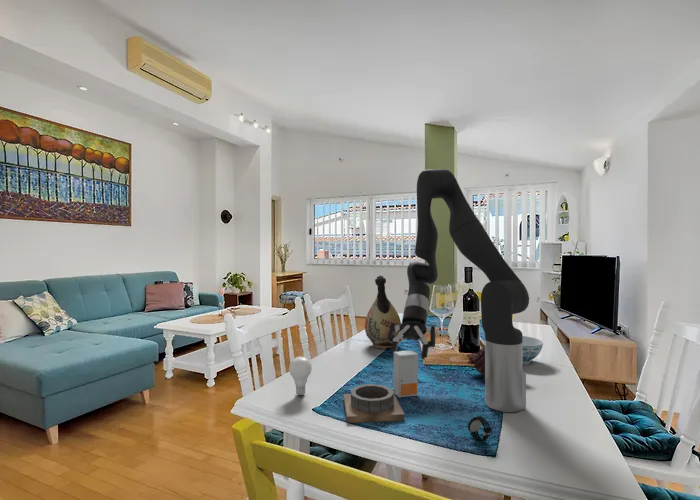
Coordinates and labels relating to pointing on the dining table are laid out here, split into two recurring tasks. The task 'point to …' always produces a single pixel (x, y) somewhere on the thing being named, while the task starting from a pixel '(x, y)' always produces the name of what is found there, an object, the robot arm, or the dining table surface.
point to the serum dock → (372, 404)
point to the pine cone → (478, 361)
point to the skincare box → (406, 373)
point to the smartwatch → (476, 425)
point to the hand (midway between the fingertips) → (408, 356)
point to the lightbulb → (300, 373)
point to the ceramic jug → (381, 318)
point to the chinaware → (531, 348)
